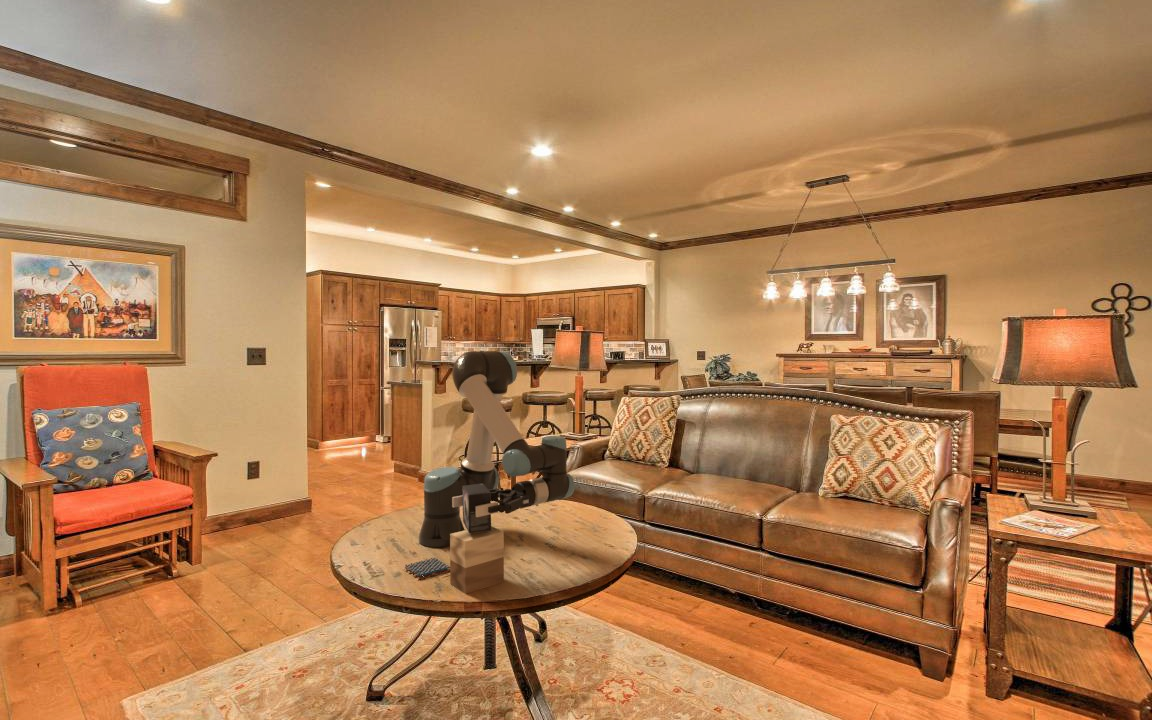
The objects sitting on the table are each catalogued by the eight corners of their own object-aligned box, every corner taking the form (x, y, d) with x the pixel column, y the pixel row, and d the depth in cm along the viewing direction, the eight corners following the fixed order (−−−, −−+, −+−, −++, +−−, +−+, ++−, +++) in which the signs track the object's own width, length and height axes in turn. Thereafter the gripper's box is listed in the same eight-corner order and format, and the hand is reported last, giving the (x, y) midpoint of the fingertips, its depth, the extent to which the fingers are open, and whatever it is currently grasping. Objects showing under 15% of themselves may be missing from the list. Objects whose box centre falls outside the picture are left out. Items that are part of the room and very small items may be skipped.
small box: (461, 522, 157) (461, 484, 157) (484, 519, 159) (484, 482, 159) (467, 533, 147) (467, 493, 147) (492, 530, 149) (492, 491, 149)
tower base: (450, 584, 152) (450, 559, 152) (488, 573, 160) (488, 548, 160) (465, 594, 146) (465, 567, 146) (503, 581, 154) (503, 556, 154)
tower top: (450, 559, 152) (450, 533, 152) (488, 549, 160) (487, 524, 160) (465, 568, 146) (465, 541, 146) (503, 556, 154) (503, 531, 154)
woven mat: (435, 562, 169) (435, 555, 169) (452, 573, 161) (452, 566, 161) (402, 571, 162) (402, 564, 162) (418, 582, 154) (418, 575, 154)
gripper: (555, 514, 156) (488, 531, 141) (506, 498, 174) (442, 511, 159) (555, 487, 156) (488, 501, 141) (506, 473, 174) (442, 485, 159)
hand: (464, 507), depth 150 cm, fingers closed on small box, 11 cm apart
